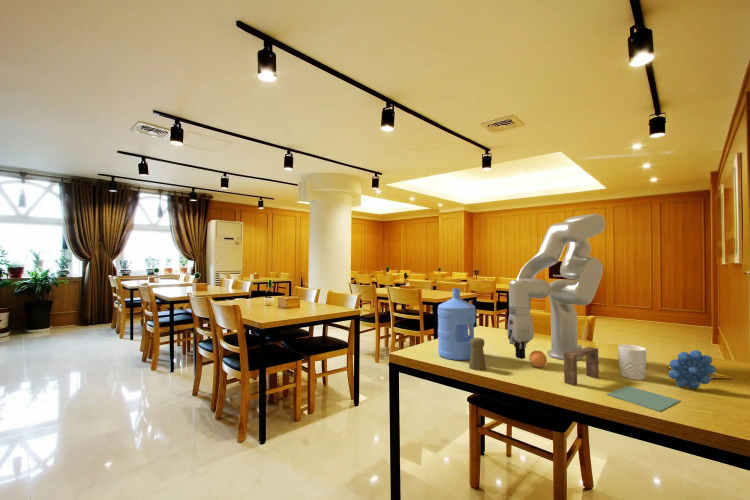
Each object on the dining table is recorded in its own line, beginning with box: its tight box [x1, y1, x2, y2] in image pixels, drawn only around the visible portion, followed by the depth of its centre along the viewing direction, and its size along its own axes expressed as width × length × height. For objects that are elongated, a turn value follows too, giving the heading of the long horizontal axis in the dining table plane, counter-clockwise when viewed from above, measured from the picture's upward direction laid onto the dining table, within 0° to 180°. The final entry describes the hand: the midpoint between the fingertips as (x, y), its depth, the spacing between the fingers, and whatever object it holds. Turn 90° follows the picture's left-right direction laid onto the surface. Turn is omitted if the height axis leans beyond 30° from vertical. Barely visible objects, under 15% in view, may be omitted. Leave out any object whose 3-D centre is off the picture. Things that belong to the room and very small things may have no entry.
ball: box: [528, 350, 548, 368], centre depth 127 cm, size 6×6×6 cm
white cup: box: [617, 344, 647, 381], centre depth 116 cm, size 8×8×10 cm
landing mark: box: [606, 385, 681, 412], centre depth 98 cm, size 13×13×1 cm
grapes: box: [668, 349, 717, 390], centre depth 106 cm, size 12×7×12 cm, turn 71°
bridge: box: [563, 346, 600, 386], centre depth 113 cm, size 3×15×10 cm, turn 120°
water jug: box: [437, 288, 477, 361], centre depth 143 cm, size 16×16×28 cm
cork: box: [468, 337, 487, 371], centre depth 126 cm, size 6×6×11 cm
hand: (520, 357), depth 133 cm, fingers closed
